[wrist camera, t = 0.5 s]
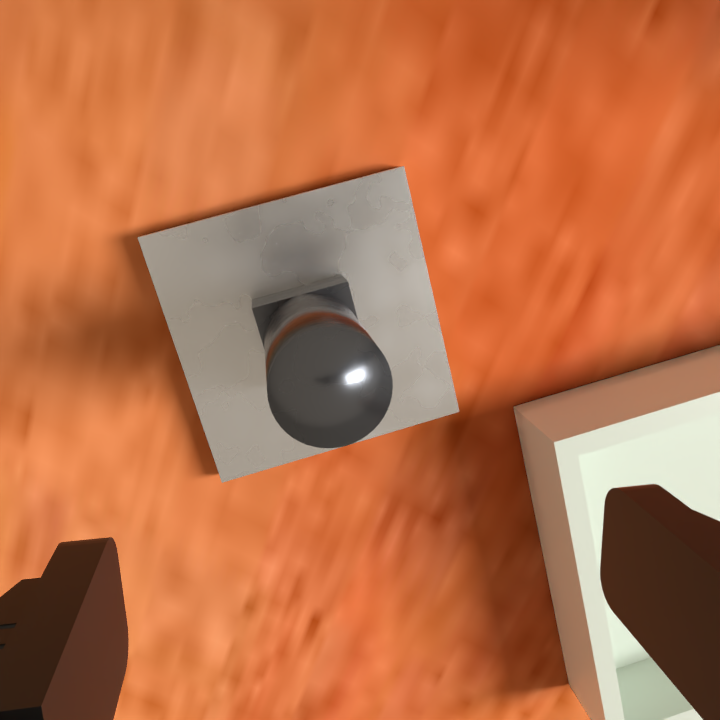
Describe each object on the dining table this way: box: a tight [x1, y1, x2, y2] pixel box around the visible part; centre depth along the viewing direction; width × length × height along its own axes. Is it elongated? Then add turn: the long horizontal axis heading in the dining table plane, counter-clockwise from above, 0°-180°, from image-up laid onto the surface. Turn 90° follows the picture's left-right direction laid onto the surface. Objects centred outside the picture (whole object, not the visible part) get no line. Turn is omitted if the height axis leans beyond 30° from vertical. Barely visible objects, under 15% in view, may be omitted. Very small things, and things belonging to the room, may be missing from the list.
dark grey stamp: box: [252, 275, 393, 448], centre depth 27 cm, size 4×4×9 cm
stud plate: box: [138, 166, 459, 482], centre depth 31 cm, size 12×12×3 cm
